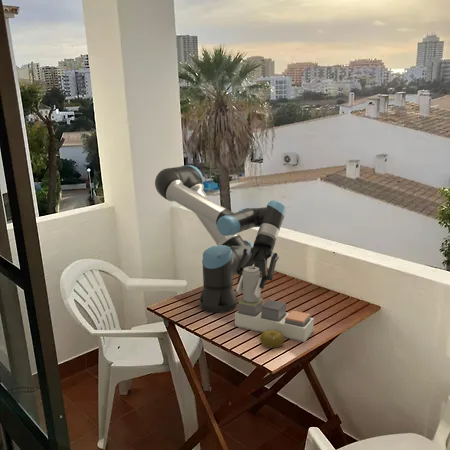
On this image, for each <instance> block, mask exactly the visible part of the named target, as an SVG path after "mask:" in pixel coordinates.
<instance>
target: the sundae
mask: <svg viewBox="0 0 450 450" xmlns="http://www.w3.org/2000/svg"><path fill="white" fill-rule="evenodd" d="M253 266H254V267H258V268H259V271H260V273H262V262H261V261H256V263H254V264H253ZM261 276H262V274H260V278H262V277H261Z"/></svg>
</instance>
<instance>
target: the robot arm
mask: <svg viewBox="0 0 450 450" xmlns="http://www.w3.org/2000/svg"><path fill="white" fill-rule="evenodd" d="M203 178H204V176H203V174H202V172H201V170H200V169H198V167H196V166H194V165H189V164H188V165H185V164H184V165H180V166H175V167H168V168H167V167H166V168H163V169H161V170H160V171H159V172H158V173H157V174H156V176H155V179H154V186H155V189H156V191H157V193H158V194H159V195H160V196H161V197H162V198H164V199H165V200H168V202H175V203H177V204H178V205H180V206H182V207H184V208H186V209H187V210H189V211H191V212H192V213H194V214H195V215H196V216H197V218H198V219H199V221H200V222H201V224H202V225H203V227H204V228H205V230H206V231H207V232H208V233H209V235H210V237H211V238H212V240H213V241H214V242H215V244H216V245H213V246H212V245H211V246H210V247H208V248H206V249H205V250H204V251H203V253H202V260H201V263H202V282H203V283H202V284H203V287H202V292H201V295H200V298H199V307H200V309H202V310H203V311H206V312H209V313H226V312H229V311H233V310H235V309H236V308H237V307H238V297H237V296H236V293H237V294H238V295H241V293H242V292H243V273H242V272H243V271H244V270H243V269H244V268H245V267H249V266H254V263H256V261H261V262H262V271H261V277H262V278H259V280H258V283H257V286H256V289H255V292H254V295H255V296H256V297H257V298H258V297H259V294H260V291H262V290H263V289H264V288H265V285H266V282H267V281H272V280H273V278H274V273H275V270H276V269H275V268H276V264H277V262H278V260H279V258H280V256H279V255H278V253H277V252H273V250H274V248H275V245H276V241H277V239H278V235H279V233H280V229H281V226H282V224H283V221H284V218H285V214H286V211H287V207H286V206H285V204H284V203H283V202H282V201H279V200H270V201H268V202H267V204H266V206H265V207H251V208H249V207H246V208H241V209H239V210H238V211H236V212H233V211H231V210H229V209H227V208H226V207H224V206H222V205H220V204H218V203H216V202H214V201H213V200H211V199H210V198H209V196H208V195H207V194H206V191H204V189H205V185H204V179H203ZM253 228H258V231H257V233H256V236H255V239H254V242H253V243H252V241H249V240H246V239H245V240H244V239H243V238H242V236H241V235H240V234H239V233H241V232H244V231H246V230H250V229H253ZM269 258H270V262H269V266H268V259H269ZM235 275H239V276H238V278H237V281H236V282H237V287H236V290H235V289H234V287H233V284H234V283H233V281H234V280H233V277H234V276H235Z"/></svg>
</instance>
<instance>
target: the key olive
mask: <svg viewBox="0 0 450 450" xmlns="http://www.w3.org/2000/svg"><path fill="white" fill-rule="evenodd" d="M263 301H264V298H261V299H260V300H259V301H258V302H255V303H248V302H246V301H245V300H244V299H243V298H241V299H240V300H239V301H238V310H239V313H241V314H245V315H250V316H254V317H256V316H257V315H258V314H259V313H260V312H261V306H262V305H264V303H263Z"/></svg>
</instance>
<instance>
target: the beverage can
mask: <svg viewBox="0 0 450 450" xmlns="http://www.w3.org/2000/svg"><path fill="white" fill-rule="evenodd" d="M243 270H244V271H243V272H242V273H243V288H242V299H244V300H245V301H246V302H248V303H255V302H258V301H259V300H260V299H261V297H262V296H261V293H262V292H261V291H262V290H261V291H260V294H259V297H258V298H257V297H256V296H255V295H254V292H255V289H256V286H257V283H258V280H259V278H260V275H261V272H260V271H259V268H258V267H254V265H253V266H249V267H245V268H244V269H243Z"/></svg>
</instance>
